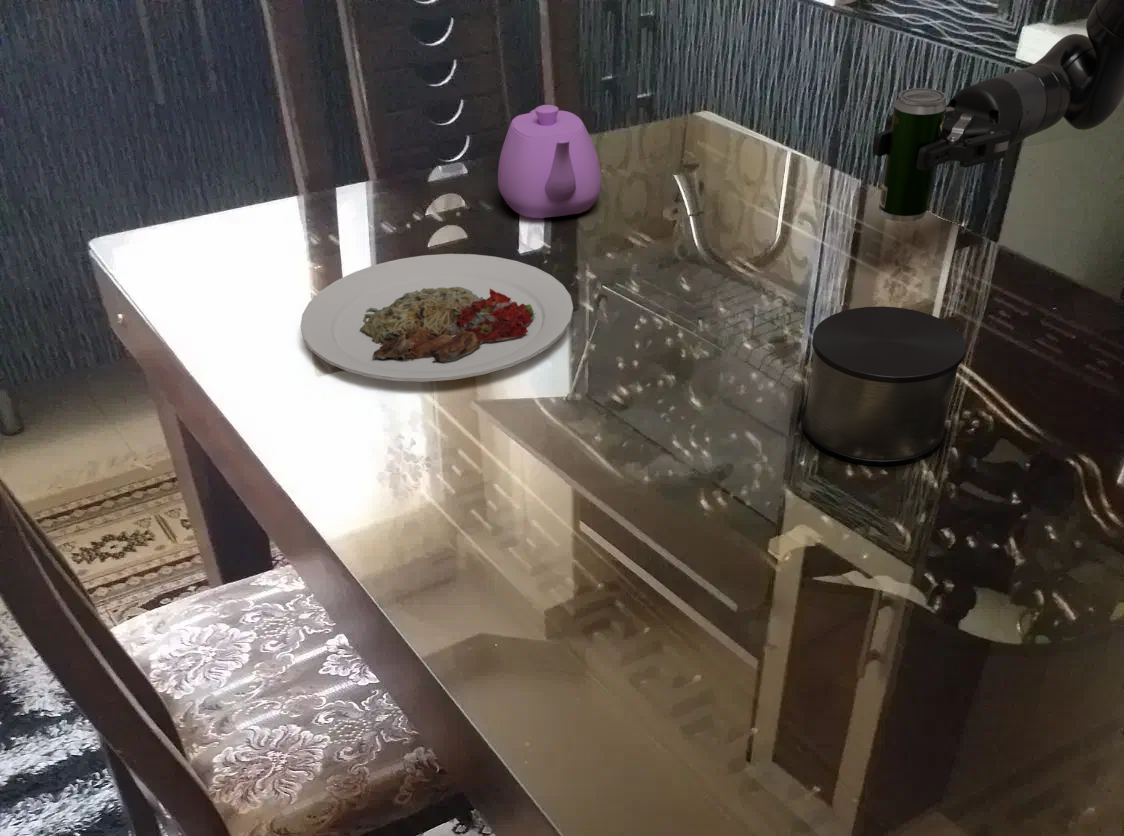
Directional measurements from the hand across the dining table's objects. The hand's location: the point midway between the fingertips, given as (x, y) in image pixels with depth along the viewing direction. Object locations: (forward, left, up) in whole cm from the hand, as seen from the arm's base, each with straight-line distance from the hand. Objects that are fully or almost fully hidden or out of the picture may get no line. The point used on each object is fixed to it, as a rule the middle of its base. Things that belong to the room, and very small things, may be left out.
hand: (898, 152), depth 123 cm
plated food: (+50, +9, -14) cm, 53 cm away
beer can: (-2, -2, -7) cm, 8 cm away
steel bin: (+6, +32, -14) cm, 36 cm away
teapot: (+38, -24, -14) cm, 47 cm away
